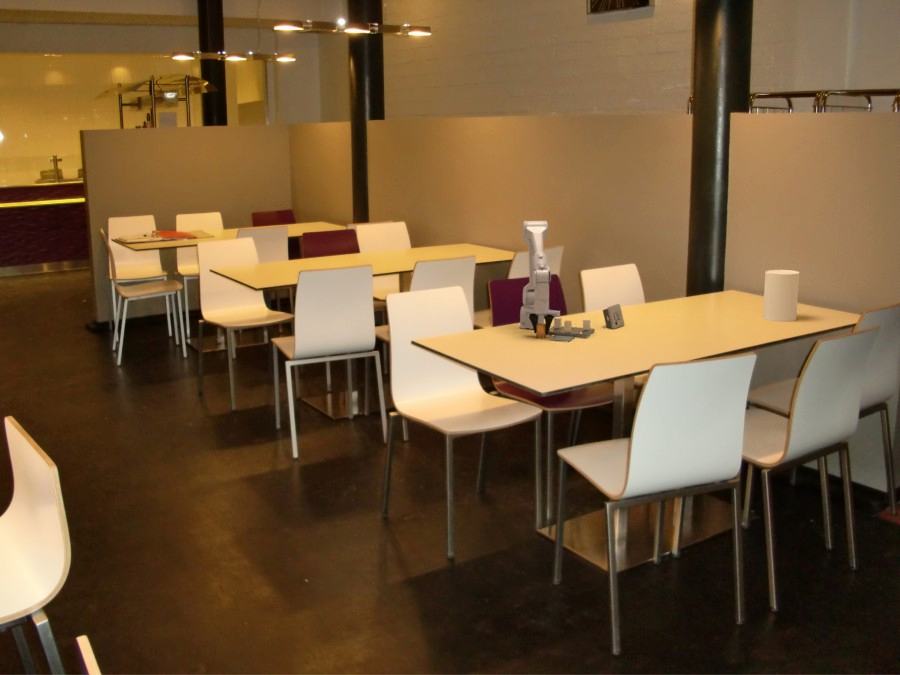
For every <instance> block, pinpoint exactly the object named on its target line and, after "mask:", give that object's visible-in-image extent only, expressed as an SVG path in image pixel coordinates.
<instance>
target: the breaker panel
mask: <svg viewBox="0 0 900 675" xmlns="http://www.w3.org/2000/svg"><path fill="white" fill-rule="evenodd" d="M595 331H596V329H595V328H591V327H590V330H583V327H576V326H575V327H574V326H572V331H571V332H567V331H565V332H564V325H561V328H554V325H553V326H552V327H550V329H549V333H548V334H547V335H554V336H555V335H557V336H571V337H581V338H580V339H588V338H589V337H590V336H592V335H593V334H594V333H595ZM591 334H592V335H591ZM554 336H553V337H554ZM587 337H588V338H587Z"/></svg>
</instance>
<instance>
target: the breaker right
mask: <svg viewBox="0 0 900 675" xmlns="http://www.w3.org/2000/svg"><path fill="white" fill-rule="evenodd" d="M582 328H583V330H590V328H591V319H587V318H583V320H582Z"/></svg>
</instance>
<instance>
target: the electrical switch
mask: <svg viewBox="0 0 900 675" xmlns="http://www.w3.org/2000/svg"><path fill="white" fill-rule="evenodd" d="M602 314H603V318H604V322H605V327H606V328H607V329H610V328H611V329H612V330H615V329H618V328H620V327H624V326H625V321H624V316H623V311H622V308H621V304H620V303H617V304H613V305H610V306H607V308H605V309H602Z"/></svg>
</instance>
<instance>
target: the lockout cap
mask: <svg viewBox="0 0 900 675" xmlns="http://www.w3.org/2000/svg"><path fill="white" fill-rule="evenodd" d="M545 328H546V325H545V323H544V324H543V323H540V324H537V329H536V333H535V334H536V336H537V337H536V338H538V337H546V338H547V337H548V336H547V334H545Z"/></svg>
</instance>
